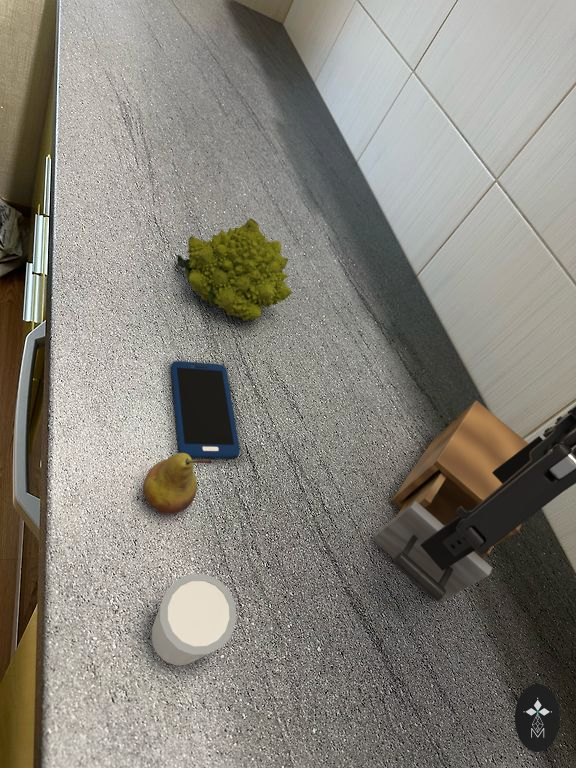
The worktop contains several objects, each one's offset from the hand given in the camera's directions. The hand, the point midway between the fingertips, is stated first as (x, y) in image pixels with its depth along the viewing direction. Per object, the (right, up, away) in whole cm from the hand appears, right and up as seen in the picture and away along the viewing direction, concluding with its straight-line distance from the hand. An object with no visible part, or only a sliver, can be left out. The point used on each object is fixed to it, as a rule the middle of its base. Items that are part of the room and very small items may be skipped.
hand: (470, 515), depth 53 cm
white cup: (-27, -12, +2) cm, 30 cm away
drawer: (-1, -8, +17) cm, 19 cm away
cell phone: (-28, +9, +18) cm, 34 cm away
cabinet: (+4, -3, +25) cm, 25 cm away
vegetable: (-26, +25, +32) cm, 48 cm away
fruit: (-31, 0, +10) cm, 32 cm away
